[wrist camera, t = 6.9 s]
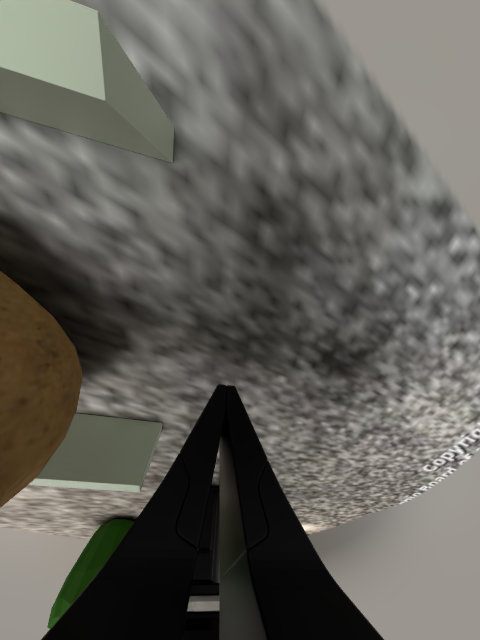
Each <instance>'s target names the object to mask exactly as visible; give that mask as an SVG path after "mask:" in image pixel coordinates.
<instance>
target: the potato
mask: <svg viewBox="0 0 480 640" xmlns="http://www.w3.org/2000/svg"><path fill="white" fill-rule="evenodd" d="M82 377H83V374H82V370H81V366H80V363H79V359H78V356H77V352H76V348H75V346H74V345H73V344H72V342H71V341H70V339H69V338H68V337H67V335H66V334H65V332H64V331H63V330H62V328H61V327H60V325H59V324H58V323H57V321H56V320H55V318H54V317H53V316H52V315H51V314H50V313H49V312H48V311H46V310H45V309H44V308H43V307H42V306H41V305H40V304H39V303H38V302H36V301H35V300H34V299H33V298H32V297H31V296H30V295H29V294H28V293H27V292H25V291H24V290H23V289H22V288H21V287H20V286H19V285H18V284H16V283H15V282H14V281H13V280H11V279H10V278H9V277H7V276H6V275H5V274H4V273H2V272H1V271H0V508H1V507H2V506H3V505H4V504H5V503H7V502H8V501H9V500H10V499H11V498H13V497H14V496H15V495H16V494H17V493H19V492H20V491H21V490H22V489H23V488H25V487H26V486H27V485H28V484H29V483H31V482H32V481H33V480H34V479H36V478H37V476H38V475H39V474H40V472H41V471H42V469H43V468H44V467H45V465H46V464H47V462H48V461H49V460H50V458H51V457H52V455H53V454H54V453H55V451H56V450H57V448H58V447H59V446H60V444H61V443H62V441H63V440H64V439H65V437H66V434H67V432H68V429H69V427H70V425H71V422H72V420H73V417H74V415H75V412H76V410H77V405H78V399H79V394H80V388H81V383H82Z"/></svg>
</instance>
